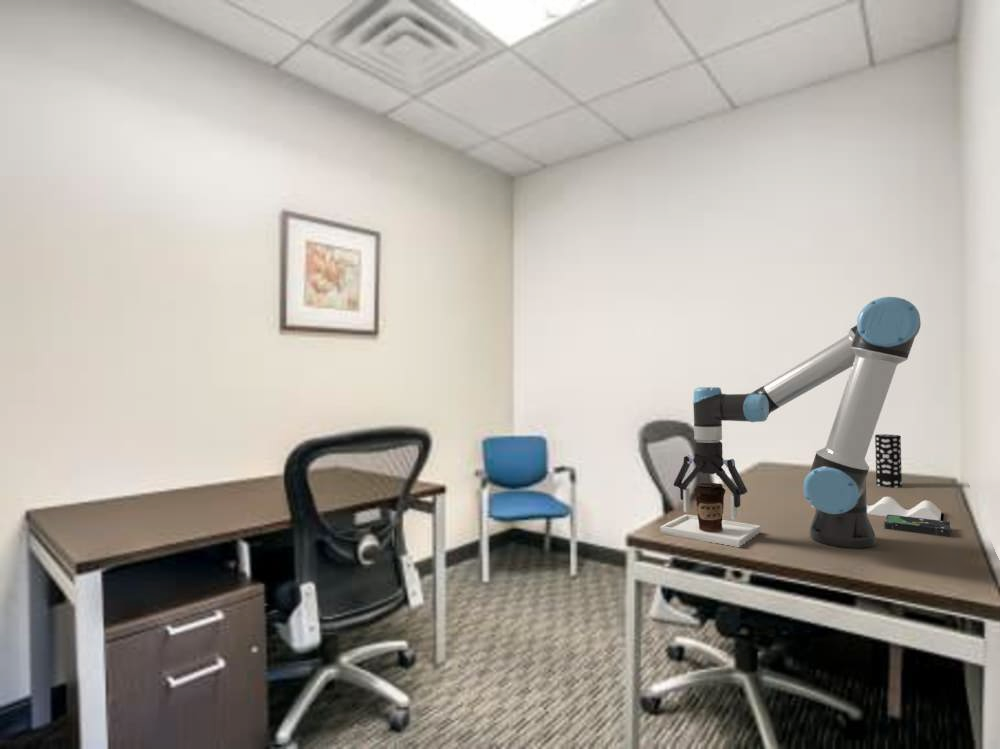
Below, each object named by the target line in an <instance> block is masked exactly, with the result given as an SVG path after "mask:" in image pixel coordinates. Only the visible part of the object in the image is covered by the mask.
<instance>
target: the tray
mask: <svg viewBox="0 0 1000 749" xmlns="http://www.w3.org/2000/svg"><path fill="white" fill-rule="evenodd" d="M722 529H723V531H718V532H710V531H703V530H700V529H699V521H698V515H693V514H687V513H686V514H684V515H683V514H682V515H681V516H679V517H677V518H674V519H673V520H671V521H669V522H666V523H665V524H662V525H661V526H659V534H660V533H661V535H662V534H663V535H665V536H671V537H677V538H683V539H688V540H695V541H698V540H699V541H698V542H704V541H705V543H709V542H712V543H711V544H715V543H719V544H718V545H720V544H724V545H723V546H726V545H730V546H729V547H731V546H735V547H734V548H736V547H740V546H741V547H743V546H744V545H745V543H746V542H747V541H748V542H750V541H751V540H753V539H754V538H756V537H757V536H758V535H760V534H761V533H760V532H761V530H762V529H761V525H758V524H751V523H744V522H739V521H733V520H732V521H731V520H726V519H722ZM759 533H760V534H759ZM757 534H758V535H757ZM756 535H757V536H756ZM753 537H754V538H753ZM752 538H753V539H752ZM750 539H751V540H750ZM749 540H750V541H749ZM748 542H747V543H748ZM747 543H746V544H747ZM743 544H744V545H743ZM742 545H743V546H742ZM741 547H740V548H741Z"/></svg>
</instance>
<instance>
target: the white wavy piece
mask: <svg viewBox="0 0 1000 749" xmlns="http://www.w3.org/2000/svg"><path fill="white" fill-rule="evenodd" d="M813 507H814V506H812V505H811V508H813ZM867 515H872V516H874V515H875V516H879V517H881V516H882V517H887V515H898V516H904V517H914V518H923V519H931V520H940V521H944V516H945V514H944V513H943V511H941V510H940V509H939V508H938V507H937V505H935V504H934V503H933V502H932V501H930V500H922V501H921V502H920V503H918V504H916V505H914V506H912V507H911V508H909V509H906V508H904V507H902V505H900V504H899V503H898V502H897V501H896V500H895V499H894V498H893V497H892V496H883V497H882V498H881V499H879V500H878V501H877V502H876V503H874V504H872V505H869V504H867Z"/></svg>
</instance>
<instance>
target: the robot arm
mask: <svg viewBox="0 0 1000 749" xmlns="http://www.w3.org/2000/svg"><path fill="white" fill-rule="evenodd" d="M856 319H857V320H856V325H854V326H853V327H851V328H849V331H848V334H847V335H845V336H844V337H842V338H840V339H839V340H838V341H836V342H834V343H832V344H830V345H829V346H827V347H826V348H824V349H822V350H820V351H819V352H817V353H816V354H814V355H813V356H811V357H809V358H808V359H806V360H803V361H802V362H800V363H799V364H797V365H795V366H794V367H792V368H790V369H789V370H787V371H786V372H784V373H782V374H780V375H779V376H777V377H775V378H774V379H772V380H771V381H769V382H767V383H766V384H764V385H763V386H761V387H759V388H757V389H755V390H754V391H753V392H750V393H739V394H738V393H737V394H736V393H735V394H733V393H732V394H727V393H723V392H722V389H721V387H718V386H717V387H716V386H714V387H713V386H712V387H711V386H709V387H707V386H701V387H696V388H695V389H694V390H693V401H692V406H693V435H694V436H693V439H694V440H695V441H694V444H693V445H694V446H693V447H694V456H691V455H686V456H684V457H683V462H682V466H681V467H680V470H679V472H678V474H677V476H676V478H675V480H674V481H673V486H674V487H678V489H679V493H680V496H679V497H680V500H681V501H682V502H683V503H682V504H683V513H688V512H690V510H691V508H690V507H691V503H690V501H691V500H690V488H688V486H689V485H690V484H691V483H692V482H693V481H694V480H695V478H696V477H697V476H698V475H699V474H700V473H702V474H709V475H714V474H715V475H716V476H717V477H719V479H720V480H721V482H723V483H724V485H725V486H726V487H727V489H729V491H730V492H731V494H732V495H730V519H731V520H732V521H733V520H736V519H737V518H738V508H740V507H741V496H742V495H746V494H747V493H748V489H747V487H746V485H745V483H744V481H743V479H742V477H741V475H740V473H739V471H738V470H737V466H736V462H735V459H734V458H730V459H724V458H723V443H722V440H723V424H722V423H723V421H730V422H749V423H750V422H751V423H760V422H765V421H767V420H768V417H769V415H770V414H771V413H772V412H774V411H776V410H777V409H778V410H779V409H780V408H781V407H782V406H784V405H786V404H788V403H790V402H791V401H793V400H795V399H797V398H798V397H800V396H802V395H803V394H806V393H807V392H809V391H811V390H813V389H814V388H816V387H818V386H820V385H822V384H823V383H825V382H827V381H829V380H830V379H832V378H833V377H836V376H837V375H840V374H841V373H843V372H845V371H847V370H849V369H850V368H851V369H850V373H849V375H848V378H847V381H846V383H845V387H844V389H843V393H842V397H841V399H840V403H839V406H838V408H837V412H836V414H835V417H834V421H833V423H832V426H831V429H830V432H829V436H828V439H827V442H826V445H825V447H823V448H821V449H819V450H816V452H815V455H814V459H813V462H812V464H811V466H810V467H811V468H810V471H809V473H807V475H806V476H805V477H804V480H803V487H802V488H803V494H804V497H805V498H806V499H807V501H808V503H809V504H810V505H811V507H812V506H814V507H815V508H814V509H816V510H815V511H814V512H815V513H814V515H813V518H812V521H811V523H810V527H809V537H810V538H811V540H814V541H817V542H818V543H823V544H824V545H830V546H835V547H842V548H849V549H850V548H853V549H862V548H863V549H865V548H871V547H874V546H875V545H876V544H877V543H876V542H877V541H876V540H877V539H876V533H875V531H874V529H873V526H872V523H871V521H870V520H871V519H870V518H869V516H868V515H869V514H867V505H868V503H867V476H868V473H869V469H870V466H869V464H868V463H867V461H866V457H867V454H868V449H869V448H870V445H871V442H872V439H873V435H874V433H875V430H876V426H877V424H878V421H879V419H880V416H881V413H882V411H883V410H882V409H883V407H884V405H885V401H886V398H887V395H888V393H889V389H890V387H891V383H892V380H893V378H894V375H895V373H896V369H897V366H898V365H899V364H901V363H903V362H906V361H907V360H908V358H909V355H910V354H911V351H912V350H911V349H912V347H913V344H914V341H915V338H916V337H917V335H918V334H919V332H920V329H921V316H920V312H919V310H918V309H917V307H916V306H915V305H914V303H912V302H911V301H909V300H906V299H905V298H900V297H897V296H885V297H879V298H876V299H874V300H873V301H870V302H868V303H867V304H866V305H865V306H864V307H862V310H860V311H859V313H858V316H857V318H856ZM693 463H694V465H695V468H694V469H693V470H692V471H691V472H690V474H689V475H688V476H687V477H686V478H685V476H686V474H687V472H688V471H689V469H690V467H691V466H690V465H691V464H693ZM723 465H725V467H726V468H727V470H728V471H729V473H730V475H731V477H732V479H733V481H732V479H731V478H730V477H729V476H728V474H727V472H726V471H725V469H724V468H723ZM684 478H685V479H684Z"/></svg>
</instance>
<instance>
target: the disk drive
mask: <svg viewBox="0 0 1000 749" xmlns="http://www.w3.org/2000/svg"><path fill="white" fill-rule="evenodd" d="M883 522H884V524H883V525H884V526H883V527H884V530H891V531H897V532H898V531H900V532H907V533H915V534H921V535H922V534H923V535H928V536H929V535H930V536H937V537H945V538H950V536H951V523H950V521H946V520H943V521H940V520H931V519H923V518H914V517H904V516H898V515H887V516H885V520H884V521H883Z"/></svg>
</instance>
